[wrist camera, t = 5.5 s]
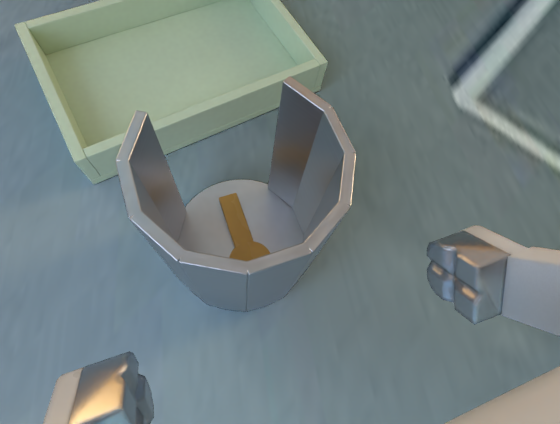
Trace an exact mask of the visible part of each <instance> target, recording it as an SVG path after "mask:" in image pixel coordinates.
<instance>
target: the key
mask: <svg viewBox="0 0 560 424" xmlns="http://www.w3.org/2000/svg"><path fill="white" fill-rule="evenodd" d="M219 202H220V205H221V208H222V211H223V214H224V217H225V220H226V223H227V226H228V229H229V232H230V235H231V238H232V241H233V244H234V247H235V248H234V249H233V250H232V252H231V254H230V257H229V258H233V259H238V260H243V261H249V260H252V259H255V258H258V257H261V256H264V255H267V254H270V252H269V250H268V249H267V248H266V247H265V246H264V245H262V244H261V243H258V242H255V241H253V238H252V235H251V232H250V229H249V227H248V224H247V221H246V218H245V215H244V213H243V210H242V207H241V204H240V201H239V199H238V196H237V193H233V194H230V195H226V196H223V197H219Z"/></svg>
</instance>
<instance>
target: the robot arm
mask: <svg viewBox="0 0 560 424" xmlns="http://www.w3.org/2000/svg"><path fill="white" fill-rule="evenodd" d="M427 256H428V258H429V259H430V260H431V263H430V264H429V266H428V268H427V279H428V281H429V284H430V286H431V288H432V289H433V291H434V292H435V293H436V294H437V295H438V296H439V297H440V298H441V299H443V300H446V301H449V302H453V303H454V307H455V310H456V311H458V312H459V313H460V314H461V315H463V316H464V317H465V318H466V319H468V320H469V321H470V322H471V323H473V324H474V325H475V324H477V323H480V322H482V321H485V320H487V319H490V318H492V317H495V316H497V315H500V314H502V315H501V316H504V317H507V318H510V319H512V320H515V321H518V322H521V323H524V324H526V325H529V326H532V327H535V328H537V329H540V330H543V331H546V332H549V333H551V334H554V335H557V336H560V250H553V249H546V248H539V247H531V248H526V247H524V246H522V245H520V244H518V243H516V242H514V241H512V240H509V239H507V238H505V237H503V236H501V235H499V234H497V233H495V232H493V231H490V230H488V229H486V228H484V227H482V226H476V225H474V226H471V227H469V228H466V229H464V230H461V231H459V232H457V233H455V234H452V235H449V236H447V237H444V238H441V239H438V240H436V241H433V242H430V243H429V245H428V247H427ZM138 364H139V363H138V361H137V359H136V357H135V356H134V354H133V353H132V352H130V351H129V352H126V353H123V354H120V355H117V356H115V357H112V358H109V359H106V360H103V361H100V362H97V363H94V364H91V365H88V366H85V367H84V368H80V369H77V370H74V371H71V372H69V373H66V374H63V375H61V376H60V377H59V378H58V379H57V381H56V384H55V387H54V390H53V394H52V397H51V400H50V403H49V406H48V409H47V412H46V415H45V419H44V422H43V424H150V423H151V421H152V420H153V418H154V405H153V399H152V393H151V390H150V387H149V384H148V382H147V380H146V377H145V376H143V375H140V374H138ZM444 424H560V366H559V367H556V368H554V369H552V370H550V371H548V372H546V373H544V374H542V375H540V376H538V377H536V378H534V379H532V380H530V381H528V382H526V383H524V384H522V385H520V386H518V387H516V388H514V389H512V390H510V391H508V392H506V393H504V394H502V395H500V396H498V397H496V398H494V399H492V400H490V401H488V402H486V403H484V404H482V405H480V406H478V407H476V408H474V409H472V410H470V411H468V412H466V413H464V414H462V415H460V416H458V417H456V418H454V419H452V420H450V421H448V422H446V423H444Z"/></svg>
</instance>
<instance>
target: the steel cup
mask: <svg viewBox="0 0 560 424" xmlns="http://www.w3.org/2000/svg"><path fill="white" fill-rule="evenodd" d="M355 153H356V152H355V150H354V148H353V146H352V144H351V142H350V140H349V138H348V136H347V134H346V132H345V130H344V128H343V126H342V124H341V122H340V120H339V118H338V116H337V114H336V112H335V110H334V108H333V107H332V106H331V105H330V104H329V103H327V102H326V101H324V100H323V99H322V98H320V97H319V96H317V95H316V94H315V93H313V92H312V91H310V90H309V89H308V88H306V87H305V86H303V85H302V84H301V83H299V82H298V81H296V80H295V79H294V78H292V77H291V76H289V77H288V78H286V79H285V80H284V81H283V85H282V92H281V99H280V106H279V113H278V120H277V127H276V134H275V141H274V148H273V155H272V162H271V169H270V176H269V184H266V183H263V182H259V181H255V180H248V179H236V180H228V181H224V182H220V183H217V184H214V185H212V186H210V187H208V188H206V189H205V190H203V191H201V192H200V193H199V194H197V195H196V196H195V197H194V198H193V199H192V200H191V201H190V202H189V203H188V204H187V205H186V206H185V207H184V204H183V202H182V199H181V197H180V194H179V192H178V189H177V186H176V184H175V181H174V179H173V176H172V174H171V171H170V169H169V166H168V164H167V161H166V158H165V156H164V153H163V151H162V148H161V146H160V143H159V141H158V138H157V136H156V133H155V130H154V128H153V125H152V123H151V120H150V118H149V115H148V113H147V112H143V111H138V110H136V111H135V113H134V116H133V118H132V121H131V123H130V126H129V128H128V131H127V133H126V135H125V138H124V140H123V143H122V145H121V148H120V150H119V153H118V155H117V158H116V168H117V172H118V176H119V180H120V185H121V189H122V193H123V197H124V202H125V206H126V210H127V214H128V217H129V218H130V221H131V222H132V223H133V224H134V225H135V227H136V228H137V229H138V230H139V231H140V233H141V234H142V235H143V236H144V237H145V239H146V240H147V241H148V242H149V244H150V245H151V246H152V247H153V248H154V250H155V251H156V252H157V253H158V254H159V256H160V257H161V258H162V259H163V260H164V262H165V263H166V264H167V265H168V267H169V268H170V269H171V270H172V271H173V273H174V274H175V275H176V276H177V277H178V279H179V280H180V281H181V282H182V283H184V284H185V285H186V286H187V287H188V288H189V289H190V290H191V291H192V292H193V293H194V294H195V295H196V296H198V297H199V298H200V299H201V300H202V301H203V302H204V303H206V304H208V305H210V306H215V307H218V308H221V309H225V310H231V311H243V312H248V311H251V310H255V309H259V308H262V307H265V306H267V305H270V304H272V303H274V302H275V301H278V300H281V299H282V298H284V297H285V296H286V294H287V293H288V292H289V291H290V289H291V288H292V287H293V286H294V285H295V283H296V282H297V281H298V280H299V278H300V277H301V276H302V275H303V273H304V272H305V271H306V270H307V268H308V267H309V265H310V264H311V263H312V261H313V260H314V258H315V257H316V256H317V254H318V253H319V251H320V250H321V248H322V247H323V246H324V244H325V243H326V241H327V240H328V239H329V237H330V236H331V234H332V233H333V232H334V230H335V229H336V227H337V226H338V225H339V223H340V222H341V220H342V219H343V218H344V216H345V215H346V213H347V212H348V211H349V209H350V206H351V203H352V193H353V182H354V172H355V162H356V154H355ZM233 193H237V196H238V199H239V201H240V204H241V207H242V210H243V213H244V215H245V218H246V221H247V224H248V227H249V229H250V232H251V235H252V238H253V241H255V242H258V243H261V244H262V245H264V246H265V247H266V248H267V249H268V250H269V252H270V254H267V255H264V256H261V257H258V258H255V259H252V260H249V261H243V260H238V259H233V258H229V257H230V254H231V252H232V250H233V249H234V248H235V247H234V244H233V241H232V238H231V235H230V232H229V229H228V226H227V223H226V220H225V217H224V214H223V211H222V208H221V205H220V202H219V197H223V196H226V195H230V194H233Z"/></svg>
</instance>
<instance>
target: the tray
mask: <svg viewBox="0 0 560 424" xmlns="http://www.w3.org/2000/svg"><path fill="white" fill-rule="evenodd" d="M15 28H16V30H17V32H18V35H19V37H20V39H21V42H22V44H23V46H24V48H25V51H26V53H27V55H28V58H29V60H30V62H31V64H32V67H33V69H34V71H35V74H36V76H37V78H38V80H39V83H40V85H41V87H42V90H43V92H44V94H45V96H46V99H47V101H48V103H49V106H50V108H51V110H52V112H53V115H54V117H55V119H56V122H57V124H58V126H59V128H60V131H61V133H62V135H63V137H64V140H65V142H66V144H67V147H68V149H69V151H70V153H71V156H72V158H73V160H74V162H75V163H76V165H77V166H78V167H79V168H80V169H81V170H82V172H83V173H84V174H85V175H86V176H87V177H88V178H89V180H90V181H91V182H92V183H93V184H97V183H99V182H101V181H104V180H106V179H109V178H111V177H113V176H116V175H118V172H117V168H116V158H117V155H118V153H119V150H120V148H121V145H122V143H123V140H124V138H125V135H126V133H127V131H128V128H129V126H130V123H131V121H132V118H133V116H134V113H135V111H136V110H138V111H143V112H147V113H148V115H149V118H150V120H151V123H152V125H153V128H154V130H155V133H156V136H157V138H158V141H159V143H160V146H161V148H162V151H163V153H164V155H166V154H168V153H171V152H173V151H176V150H178V149H180V148H183V147H185V146H188V145H190V144H192V143H195V142H197V141H199V140H202V139H204V138H207V137H209V136H211V135H214V134H216V133H219V132H221V131H223V130H226V129H228V128H231V127H233V126H235V125H238V124H240V123H243V122H245V121H247V120H250V119H252V118H255V117H257V116H259V115H262V114H264V113H267V112H269V111H271V110H274V109H276V108H278V107H279V106H280V99H281V92H282V85H283V81H284V80H285V79H286V78H288V77H289V76H291V77H292V78H294V79H295V80H296V81H298V82H299V83H301V84H302V85H303V86H305V87H306V88H308V89H309V90H310V91H312V92H313V93H314V92H317V91H319V90H320V88H321V84H322V81H323V77H324V74H325V70H326V67H327V63H328V62H327V60H326V59H325V58H324V56H323V55H322V54H321V53H320V51H319V50H318V49H317V47H316V46H315V45H314V44H313V42H312V41H311V40H310V38H309V37H308V36H307V35H306V33H305V32H304V31H303V29H302V28H301V27H300V26H299V24H298V23H297V22H296V20H295V19H294V18H293V17H292V15H291V14H290V13H289V11H288V10H287V9H286V8H285V6H284V5H283V4H282V3H281V1H280V0H100V1H97V2H93V3H90V4H86V5H82V6H79V7H75V8H72V9H68V10H65V11H61V12H58V13H54V14H50V15H47V16H43V17H40V18H36V19H33V20H29V21H26V23H25V22H21V23H18V24H15Z"/></svg>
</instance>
